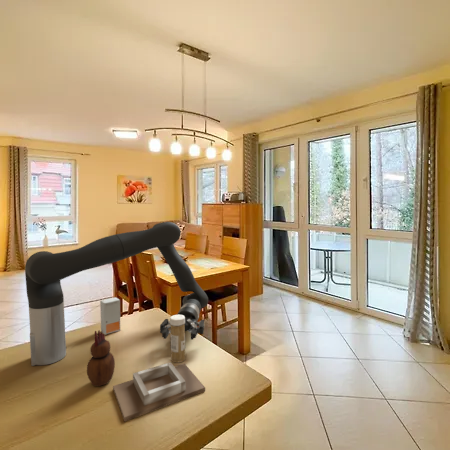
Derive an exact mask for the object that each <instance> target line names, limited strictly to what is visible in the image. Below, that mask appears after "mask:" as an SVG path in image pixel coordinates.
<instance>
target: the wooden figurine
mask: <svg viewBox="0 0 450 450" xmlns="http://www.w3.org/2000/svg"><path fill="white" fill-rule="evenodd" d="M105 336H106V335H105V334H104V333H103V332H101V329H99V330H97V331H96V330H95V331H94V342H93V343H92V345H91V346H90V350H89V351H90V355H91V358H89V360H88V362H87V365H86V374H87V378H88V379H89V381H90V383H91V384H92V385H93V386H94V387H101V386H104V385H106V384H108V383H109V382H110V381H111V380H112V378H113V376H114V372H115V368H116V367H115V366H116V364H115V363H116V362H115V361H116V360H115V357H114V355H113V353H111V352H110V351H111V344H110V342H109V340H107V339H106V337H105Z"/></svg>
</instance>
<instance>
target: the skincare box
mask: <svg viewBox="0 0 450 450" xmlns="http://www.w3.org/2000/svg"><path fill="white" fill-rule="evenodd" d="M99 304H100V305H99V306H100V307H99V308H100V332H101V331H102V332H101V333H102V334H104V336H106V335H108V334H112V333H116V332H120V331H121V299H119V298H118V297H116V296H115V297H111V298H106V299H101V300H99Z"/></svg>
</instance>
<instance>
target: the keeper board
mask: <svg viewBox="0 0 450 450" xmlns="http://www.w3.org/2000/svg"><path fill="white" fill-rule="evenodd" d="M112 391H113V393H114V396H115V399H116V401H117V405H118V407H119V410H120V412H121V415H122V418H123V421H124V422H127V421H130V420H132V419H135V418H137V417H141V416H142V415H145V414H149V413H151V412H153V411H156V410H159V409H161V408H164V407H166V406H167V407H168V406H169V405H172V404H175V403H177V402H179V401H182V400H185V399H188V398H190V397H193V396H196V395H198V394H201V393H204V392H206V387H205V385H204V383H202V381H200V379H198V377H197V376H196V375H195V374H194V372H193V371H192V370H191V368H189V367H188V366H187V365H186V363H182V364H178V365H176V366H174V365H173V363H172V362H166V363H164V364H160V365H156V366H153V367H151V368H150V367H149V368H147V369H143V370H140V371H137V372H133V373H132V379H130V380H128V381H124V382H121V383H118V384H114V385H112Z"/></svg>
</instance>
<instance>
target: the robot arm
mask: <svg viewBox="0 0 450 450" xmlns="http://www.w3.org/2000/svg"><path fill="white" fill-rule="evenodd" d="M181 233H182V232H181V229H180V227H179V226H178V225H177V224H176V223H174V222H171V221H163V222H159V223H156V224H154V225H153V226H152V227H151V228H147V229H144V230H143V229H141V230H135V231H128V232H122V233H116V234H113V235H108V236H104V237H101V238H98V239H95V240H94V241H91V242H89V243H87V244H86V245H83V246H82V247H79V248H76V249H72V250H66V251H62V252H57V253H54V252H50V251H44V250H42V251H37V252H35V253H32V254H31V255H30V256H29V257H28V258H27V260H26V262H25V267H24V270H25V271H24V272H25V286H26V288H25V289H26V297H27V302H28V303H27V304H28V313H29V314H28V315H29V316H28V317H29V318H28V319H29V344H30V345H29V348H30V362H31V366H32V367H33V366H47V365H51V364H54V363H57V362H59V361H61V360H62V359H64V358H65V357H66V355H67V343H66V342H67V341H66V339H67V338H66V324H65V323H66V321H65V301H64V300H65V299H64V291H63V288H62V285H61V284H62V283H61V280H64V279H67V278H69V277H70V276H73V275H75V274H78V273H80V272H83V271H86V270H92V269H95V268H99V267H102V266H105V265H109V264H113V263H117V262H119V261H122V260H125V259H129V258H131V257H134V256H136V255H139V254H141V253H144V252H146V251H149V250H153V249H156V248H157V249H158V250H159V252H160V254H161V255H162V256H163V258H164V261H165V262H166V263H167V265H168V267H169V268H170V270H171V272H172V274H173V276H174V279H175V281H176V282H177V285H178V287H179V289H180V291H181V292H184V293H186V292H192V293H190V294H186V295H185V296H184V297H182V306H181V308H180V309H179V310H178V312H177V314H176V315H184V316H185V324H184V327H185V332H188V333H189V334H190V341H191V340H194V339H196V338H197V336H198V334H199V335H204V331H205V319H201V320H200V321H198V320H199V318H200V313H201V310H202V308H205V307H207V306H208V304H209V297H208V295H207V293H206V292H205V291H204V290H203V288H202V287H201V286H200V284H198V282H197V281H196V278H195V277H194V273H193V272H192V270H191V268H190V266H189V265H188V263H187V262H186V261H185V260H184V258H182V256H181V255H180V254H179V252H178V250H177V249H176V247H175V245H174V244H176V243H177V242H178V241H179V239H180V237H181ZM159 333H160V334H161V337H162V338H163V340H166V339H167V338H168V336H169V334H171V325H170V320H169V319H168V318H165V319H164V320H163V321H162V322H161V324H160V325H159Z"/></svg>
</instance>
